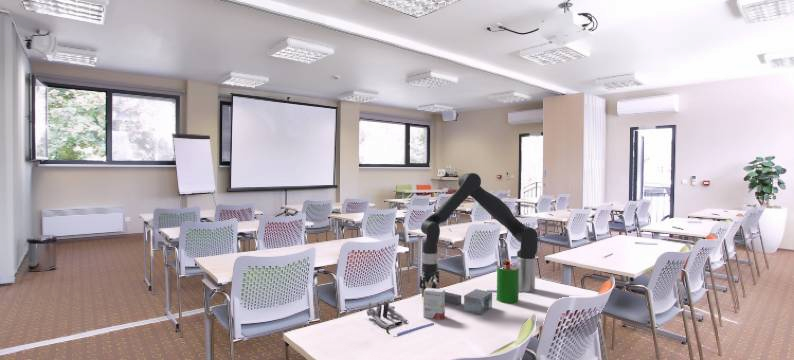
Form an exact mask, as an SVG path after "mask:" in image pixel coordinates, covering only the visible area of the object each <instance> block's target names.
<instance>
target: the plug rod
mask: <svg viewBox="0 0 794 360" xmlns="http://www.w3.org/2000/svg"><path fill="white" fill-rule="evenodd" d="M422 293H423V292H422V291H421V298H423V297H424V296H423V295H422ZM445 304H449V305H451V306H452V305H453V306H457V307H458V306H460V305H462V295H461V294H457V293H453V292H448V291H445Z"/></svg>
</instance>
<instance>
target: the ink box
mask: <svg viewBox="0 0 794 360" xmlns="http://www.w3.org/2000/svg"><path fill="white" fill-rule="evenodd" d="M445 292H446V290H445V289H441V288H436V289H433V288H432V287H431V288H430V287H427V288H426V289H425V290H424V298H423V311H422V312H423V314H422V315H423V318H427V319H435V320H443V319H444V318H445V315H446V314H445V313H446V312H445V311H446V307H445V306H446V303H445Z"/></svg>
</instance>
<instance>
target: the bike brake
mask: <svg viewBox="0 0 794 360" xmlns="http://www.w3.org/2000/svg"><path fill="white" fill-rule="evenodd" d="M376 304H377V305H376V309H375V308H374V307H372V301H371V302H368V309H366V315H367V316H368V317H370V316H371V317H372V318H373V319H374V320H375V322H376V323H377V324H378V325H380V326H381V327H382V328H384V329H385V331H386V333H387V334H388V335H391V333H390V332H389V329H390V328H394V327H395V326H399V325H401V324H407V323H408V321H409V319H406V317H404V315H402V314H400V313H399V312H397V311H395V309H396V306H391V305H390V298H387V299H386V301H384V303H383V307H382V304H380V303H379V302H377V303H376ZM382 308H383V311H382ZM388 313H389V314H391V315H392V316H395V317H398V319H400V320H401V321H397V322H391V323H388V324H387V323H386V324H385V323H384V322H383V321H382V320H381V315H382V317H384V318H385V319H388Z"/></svg>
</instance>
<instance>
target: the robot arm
mask: <svg viewBox="0 0 794 360" xmlns="http://www.w3.org/2000/svg"><path fill="white" fill-rule="evenodd" d="M457 182H458V183H457V185H458V187H459V188H458V189H456V190H455V192H454V193H453V194H452V195H451V196H449V197H448V198H447V199H446V200H444V201H443V202H442V204H440V206H439V207H437V209H436V210H435V211H434V212H433V213H432V214H430V215H429V216H427V218H426V219H424V220H423V222H422V223H421V225H420V230H421V232H422V233H423V234H425V235H426V239H425V240H424V241H423V243H422V255H421V256H422V257H421V259H422V260H421V262H422V263H421V264H422V265H421V266H422V267H421V271H422V272H423V275H420V276H419V288H420V289H421V296H422V295H423V296H424V290H425V289H426V288H429V286H430V284H431V288H433V289H437V285H438V283H440V271H438V267H439V265H438V261H439V260H438V259H439V257H438V244H439V238H440V234H441V227H440V224H442V223H445V222H447V221H448V219H449V218H450V217H451V215H453V213H455V211H456V210H457V208H459V207H460V206H461V204H462V203H463V202H464V201H465V200H467V198H469V197H471V198H473V199H474V200H475V201H476V202H477V203H478V204H479V206H481V207H482V209H484V210H485V211H486V212H487V213H488V214H489V215H490V216H491V217H492V218H494V219H495V220H496V222H498V223H500V224H501V225H502V226H503V227H505V229H507V230H508V232H510V234H512V236H513V237H514V238H515V239H516V240H517V242H519V243H520V249H519V250H517V251H516V269H517V268H519V292H523V293H531V292H535V291H536V290H535V287H536V255H537V253H538V245H539V244H538V243H539V235H538V234H539V233H538V232H537V230H536V229H535V228H533V227H530V226H527V225H526V224H523V223H522V222H521V221H520V220H519V219H517V218H516V216H515V214H514V213H513V211H512V210H511V209H510V207H509V206H508V205H507V203H505V202H504V201H503V200H501V198H499V197H498V196H496V195H494V194H492V193H490V192H488V191H487V190H486V189H484V188H483V187H482V186H481V184H482V179H481V177H480V175H479V174H478V173H475V172H467V173H464V174H462V175H460V176H459V177H458V181H457ZM422 292H423V293H422Z"/></svg>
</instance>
